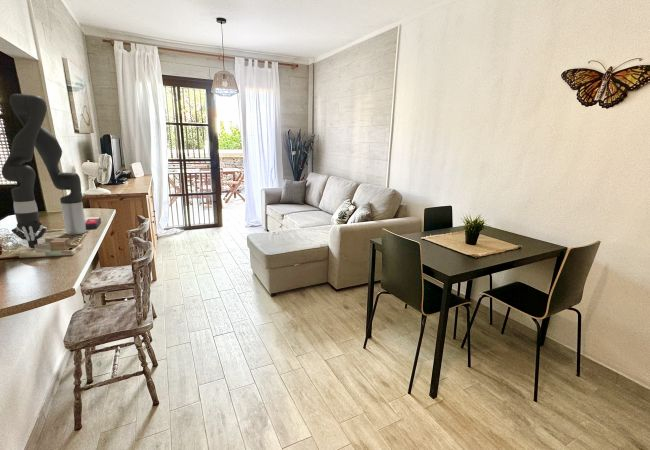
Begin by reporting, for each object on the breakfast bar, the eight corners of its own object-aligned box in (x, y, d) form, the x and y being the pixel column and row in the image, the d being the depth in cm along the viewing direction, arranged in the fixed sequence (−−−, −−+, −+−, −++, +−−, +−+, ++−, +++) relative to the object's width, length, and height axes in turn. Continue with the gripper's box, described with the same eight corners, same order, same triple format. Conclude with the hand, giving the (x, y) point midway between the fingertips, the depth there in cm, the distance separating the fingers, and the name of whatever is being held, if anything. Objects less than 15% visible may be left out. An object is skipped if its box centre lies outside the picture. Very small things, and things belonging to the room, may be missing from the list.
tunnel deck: (31, 250, 150) (29, 239, 149) (83, 247, 156) (81, 237, 155) (19, 257, 141) (16, 245, 139) (74, 254, 147) (72, 243, 145)
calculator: (73, 224, 182) (78, 217, 195) (74, 231, 184) (79, 224, 196) (96, 223, 187) (100, 216, 200) (97, 229, 189) (101, 222, 201)
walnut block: (56, 246, 150) (55, 238, 149) (70, 246, 152) (69, 238, 151) (50, 250, 145) (49, 242, 144) (65, 249, 147) (63, 241, 146)
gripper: (48, 208, 147) (55, 244, 151) (13, 209, 143) (20, 246, 147) (40, 212, 140) (47, 249, 144) (2, 213, 136) (10, 251, 140)
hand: (33, 247), depth 146 cm, fingers closed
